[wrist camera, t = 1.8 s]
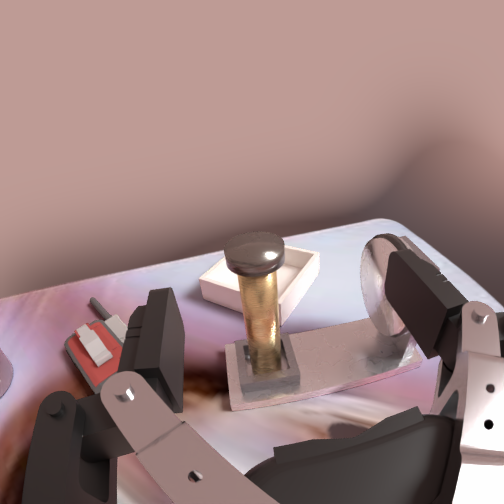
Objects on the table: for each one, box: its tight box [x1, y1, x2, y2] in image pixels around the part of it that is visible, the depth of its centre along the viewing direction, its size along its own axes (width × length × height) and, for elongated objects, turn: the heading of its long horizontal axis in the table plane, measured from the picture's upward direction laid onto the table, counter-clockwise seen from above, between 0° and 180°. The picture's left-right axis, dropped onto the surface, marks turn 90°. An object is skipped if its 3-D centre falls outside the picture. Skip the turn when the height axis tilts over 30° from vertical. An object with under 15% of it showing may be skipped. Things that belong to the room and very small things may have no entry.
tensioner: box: [225, 233, 440, 411], centre depth 27 cm, size 20×10×14 cm, turn 97°
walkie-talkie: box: [64, 297, 128, 394], centre depth 34 cm, size 9×4×20 cm
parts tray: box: [199, 245, 320, 326], centre depth 43 cm, size 12×12×4 cm
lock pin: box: [224, 232, 285, 375], centre depth 26 cm, size 4×4×14 cm
